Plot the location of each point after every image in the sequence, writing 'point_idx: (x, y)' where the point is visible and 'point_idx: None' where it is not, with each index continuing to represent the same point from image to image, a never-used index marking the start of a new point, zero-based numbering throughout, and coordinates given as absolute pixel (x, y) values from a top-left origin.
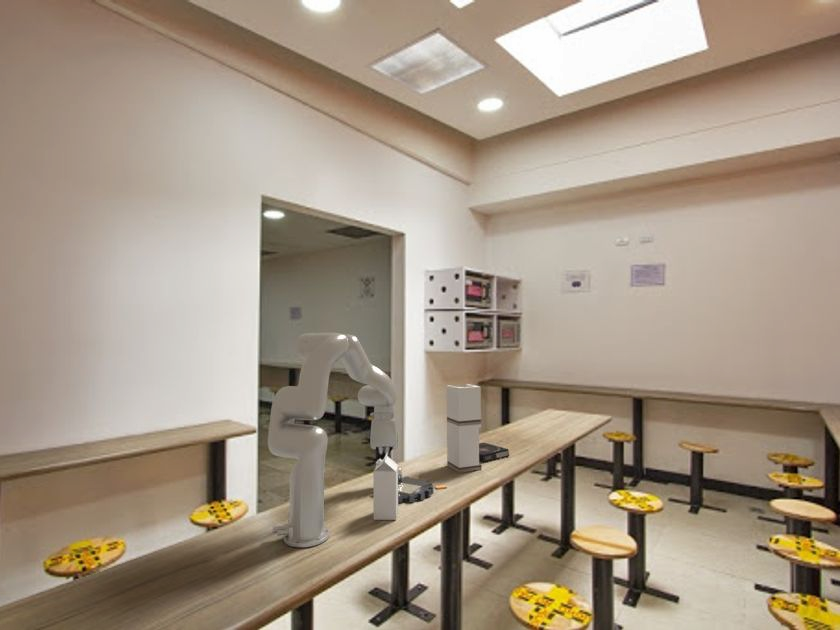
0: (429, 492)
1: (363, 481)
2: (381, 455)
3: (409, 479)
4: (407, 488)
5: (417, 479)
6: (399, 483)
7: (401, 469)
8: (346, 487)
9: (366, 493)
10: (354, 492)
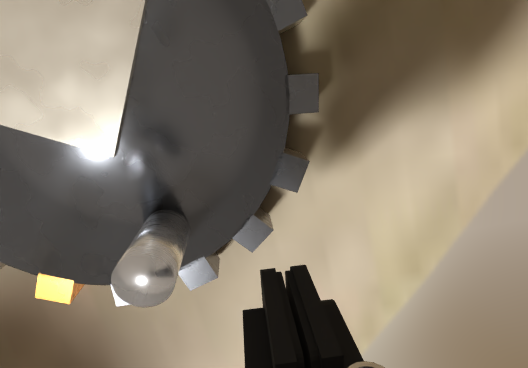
0: None
1: (399, 254)
2: (346, 360)
3: (90, 251)
4: (8, 20)
5: (32, 262)
6: (134, 159)
7: (114, 275)
8: (486, 143)
9: (349, 49)
10: (430, 59)
